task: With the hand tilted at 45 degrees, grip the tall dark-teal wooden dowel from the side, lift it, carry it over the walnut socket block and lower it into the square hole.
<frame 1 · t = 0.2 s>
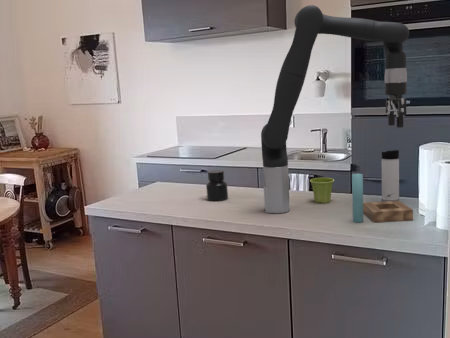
hand: (395, 126, 179), 29 cm above the worktop, tool pointing down, fingers open, 8 cm apart
dowel: (358, 221, 164), on the worktop
plant pot: (322, 201, 194), on the worktop
travel mug: (390, 201, 188), on the worktop
socket block: (386, 216, 168), on the worktop
ink bottle: (217, 199, 209), on the worktop
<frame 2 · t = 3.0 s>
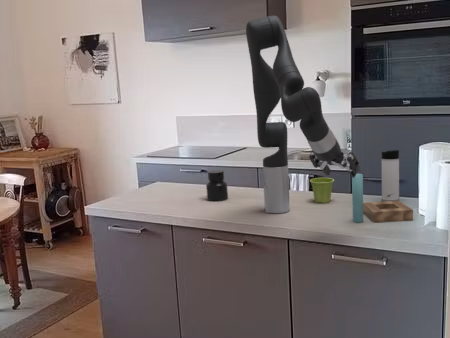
hand: (341, 174, 153), 18 cm above the worktop, tool tilted 45°, fingers open, 8 cm apart
nothing on the worktop moved.
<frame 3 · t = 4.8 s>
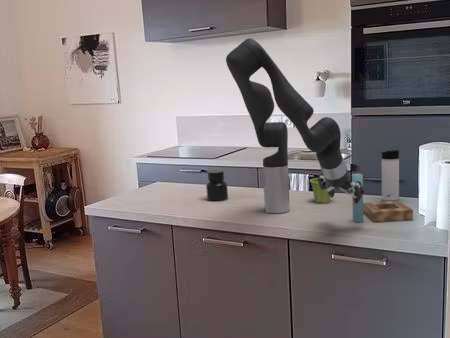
hand: (344, 198, 162), 8 cm above the worktop, tool tilted 45°, fingers open, 8 cm apart
nothing on the worktop moved.
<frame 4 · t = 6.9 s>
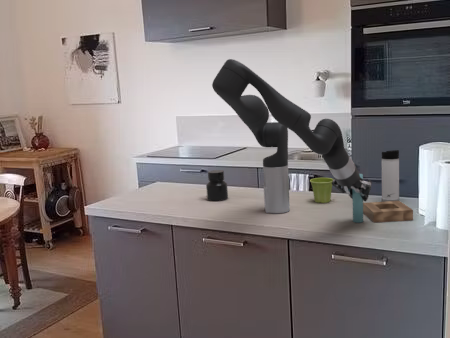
hand: (360, 198, 164), 8 cm above the worktop, tool tilted 45°, fingers closed on dowel, 3 cm apart
dowel: (358, 221, 164), on the worktop, touching gripper
everything else where it was.
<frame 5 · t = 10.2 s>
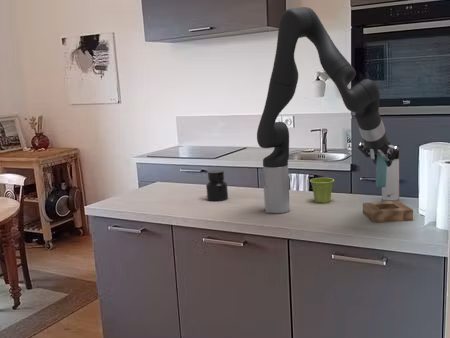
hand: (383, 163, 168), 18 cm above the worktop, tool tilted 45°, fingers closed on dowel, 3 cm apart
dowel: (380, 186, 168), point 10 cm above the worktop, touching gripper
everything else where it was.
when the fingers open (9 cm above the worktop, at t = 13.5 s): dowel drops 1 cm, resting in socket block.
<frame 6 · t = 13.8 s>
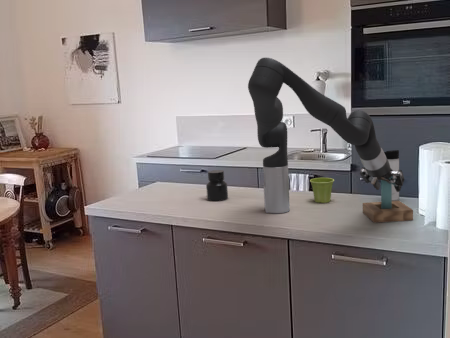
hand: (388, 188, 168), 9 cm above the worktop, tool tilted 45°, fingers open, 6 cm apart
dowel: (386, 215, 168), resting in socket block
everything else where it was.
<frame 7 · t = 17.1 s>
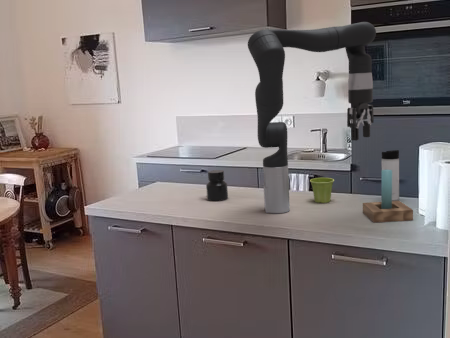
hand: (361, 138, 158), 28 cm above the worktop, tool pointing down, fingers open, 8 cm apart
nothing on the worktop moved.
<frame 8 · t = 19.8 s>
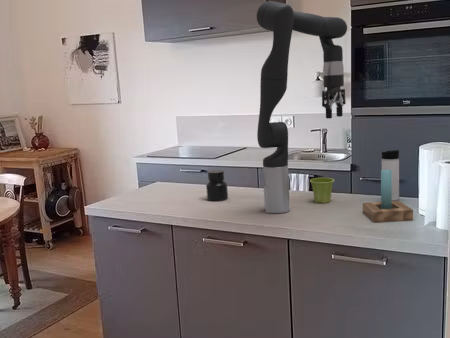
hand: (334, 117, 186), 33 cm above the worktop, tool pointing down, fingers open, 8 cm apart
nothing on the worktop moved.
at the end: dowel 0.1 cm off-centre on the socket block, point 0.0 cm above the socket block's base; dowel tilted 1°; the gripper is holding nothing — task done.
